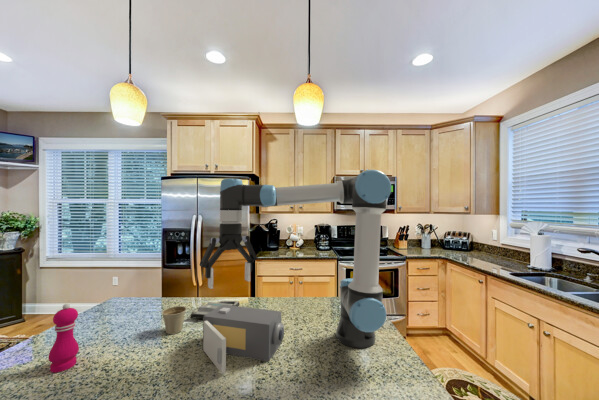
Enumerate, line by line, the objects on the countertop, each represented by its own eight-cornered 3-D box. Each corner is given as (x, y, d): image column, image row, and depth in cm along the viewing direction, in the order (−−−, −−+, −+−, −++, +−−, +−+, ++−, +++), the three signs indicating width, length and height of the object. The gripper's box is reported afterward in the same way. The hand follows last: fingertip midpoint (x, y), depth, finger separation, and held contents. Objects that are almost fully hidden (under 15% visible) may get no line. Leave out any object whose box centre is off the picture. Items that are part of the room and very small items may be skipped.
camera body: (287, 344, 95) (287, 309, 96) (275, 362, 83) (276, 323, 84) (221, 334, 103) (222, 302, 103) (202, 349, 91) (203, 313, 92)
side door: (225, 372, 77) (226, 338, 77) (219, 374, 76) (219, 340, 76) (206, 348, 90) (207, 320, 90) (201, 350, 89) (201, 321, 89)
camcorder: (235, 320, 117) (235, 308, 117) (189, 322, 114) (190, 310, 115) (239, 307, 133) (239, 297, 133) (199, 309, 130) (199, 298, 131)
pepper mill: (75, 357, 86) (78, 298, 87) (80, 365, 82) (83, 303, 83) (46, 367, 81) (49, 304, 82) (49, 377, 76) (52, 309, 77)
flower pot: (164, 339, 99) (164, 316, 99) (159, 330, 106) (159, 309, 107) (189, 331, 105) (189, 310, 105) (182, 324, 112) (183, 304, 113)
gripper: (256, 221, 99) (255, 276, 98) (190, 223, 83) (189, 288, 82) (266, 222, 93) (266, 280, 92) (197, 224, 77) (196, 294, 76)
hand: (229, 284), depth 87 cm, fingers open, 13 cm apart
